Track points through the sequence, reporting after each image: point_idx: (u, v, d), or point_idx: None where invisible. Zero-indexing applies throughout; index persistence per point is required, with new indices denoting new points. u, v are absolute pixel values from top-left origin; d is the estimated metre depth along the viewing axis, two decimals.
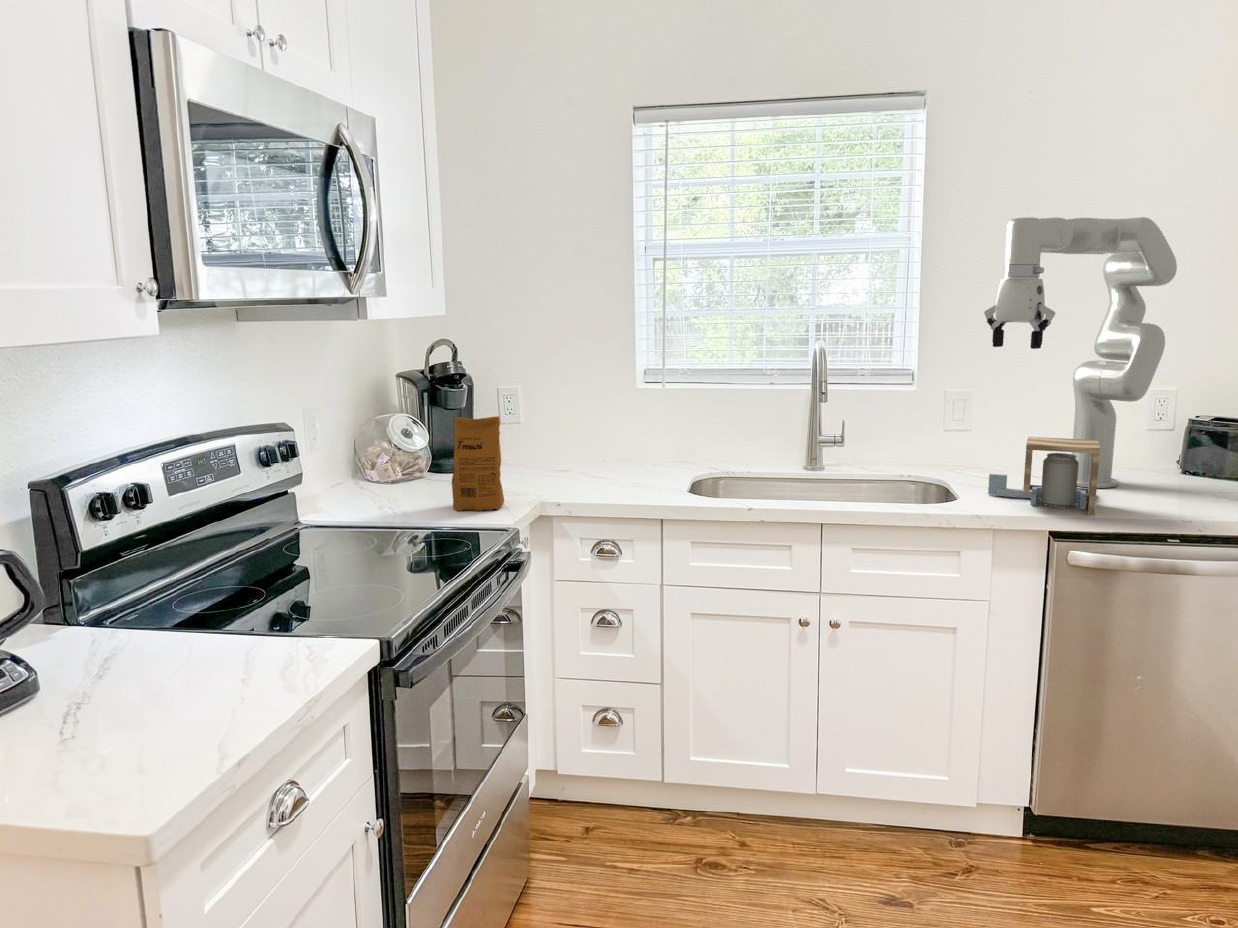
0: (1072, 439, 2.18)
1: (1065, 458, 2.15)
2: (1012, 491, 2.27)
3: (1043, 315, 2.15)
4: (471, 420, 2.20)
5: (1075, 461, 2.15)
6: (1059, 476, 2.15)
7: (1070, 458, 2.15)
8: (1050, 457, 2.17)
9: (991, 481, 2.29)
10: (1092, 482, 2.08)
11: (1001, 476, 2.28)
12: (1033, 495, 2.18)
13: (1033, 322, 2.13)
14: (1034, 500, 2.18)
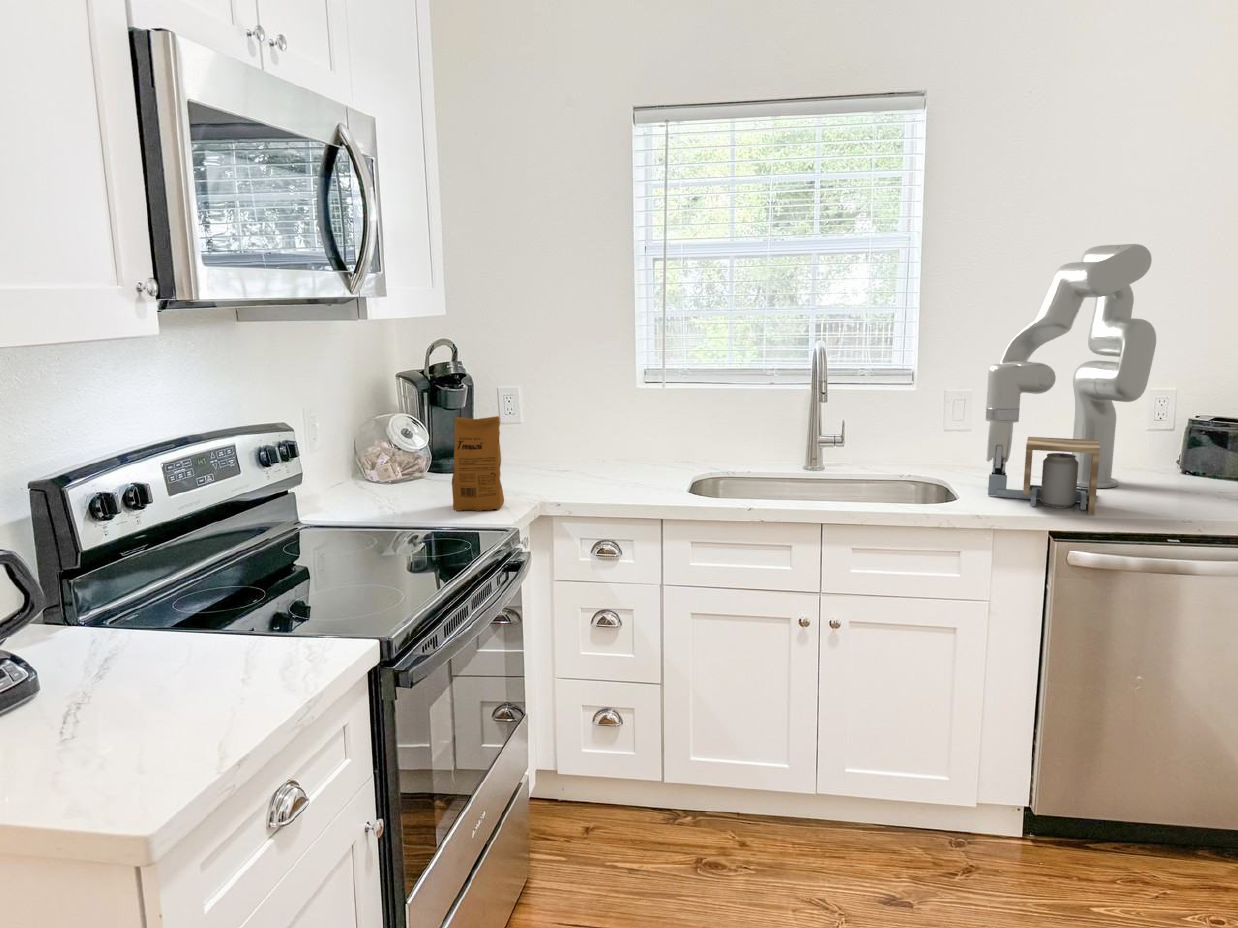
0: (1072, 439, 2.18)
1: (1065, 458, 2.14)
2: (1012, 492, 2.26)
3: None
4: (471, 420, 2.20)
5: (1075, 461, 2.15)
6: (1059, 476, 2.15)
7: (1070, 458, 2.14)
8: (1050, 457, 2.16)
9: (991, 482, 2.28)
10: (1092, 482, 2.08)
11: (1001, 477, 2.27)
12: (1033, 496, 2.17)
13: (1005, 463, 2.31)
14: (1034, 501, 2.17)
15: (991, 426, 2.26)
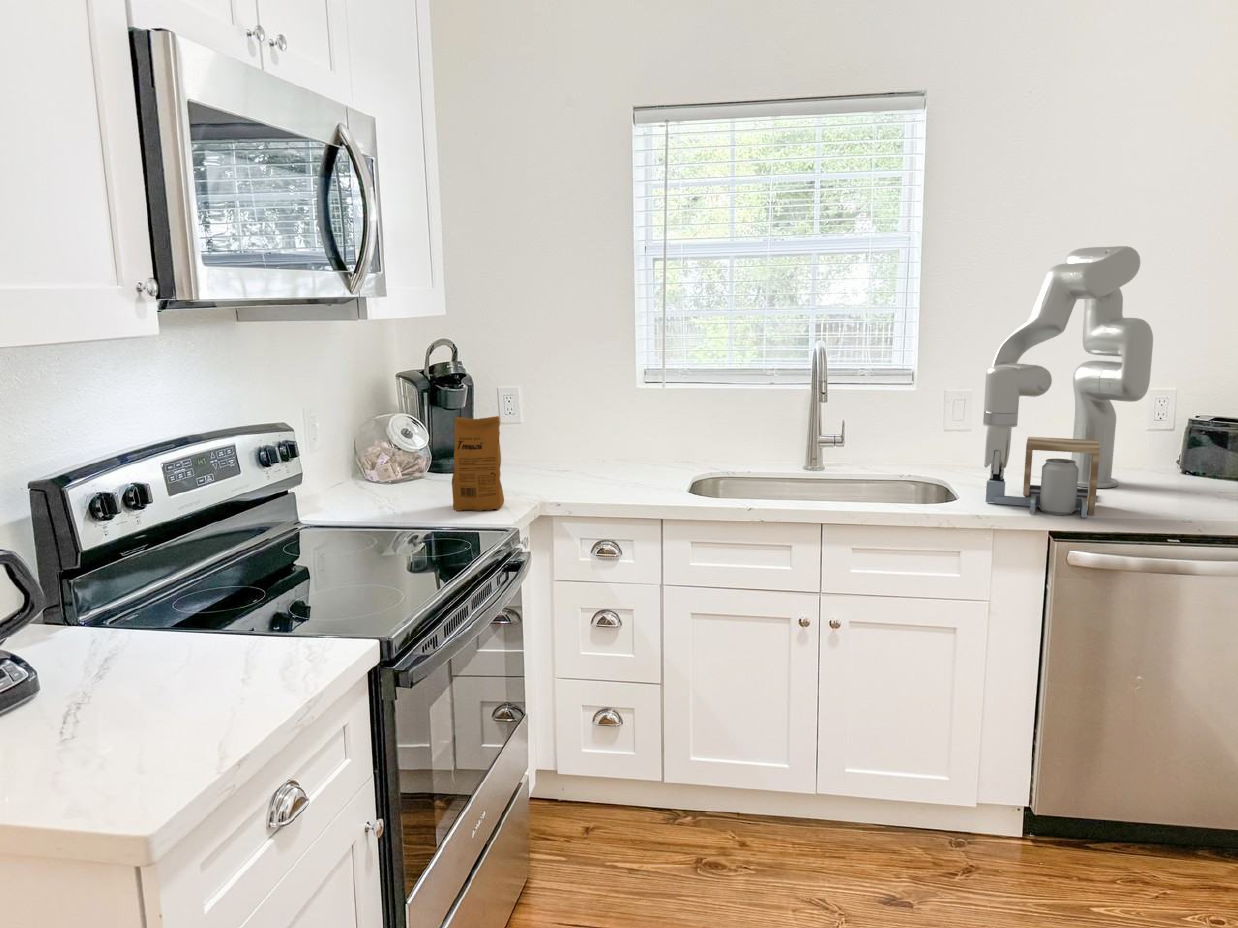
0: (1072, 439, 2.18)
1: (1064, 464, 2.07)
2: (1010, 498, 2.19)
3: None
4: (471, 420, 2.20)
5: (1075, 467, 2.08)
6: (1058, 483, 2.08)
7: (1069, 464, 2.07)
8: (1049, 463, 2.10)
9: (989, 488, 2.21)
10: (1092, 482, 2.08)
11: (999, 483, 2.20)
12: (1032, 503, 2.10)
13: None
14: (1033, 508, 2.10)
15: (989, 431, 2.18)
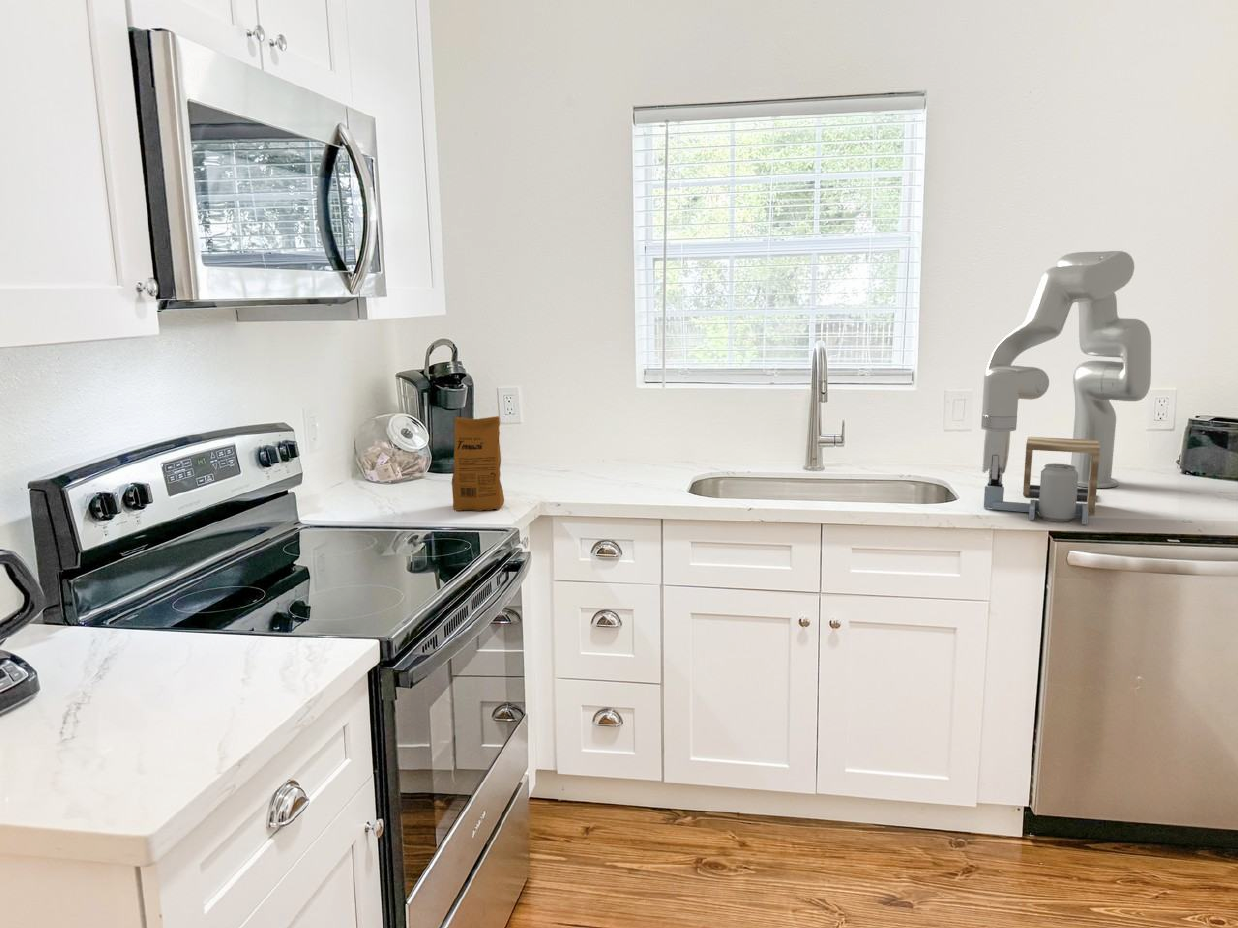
0: (1072, 439, 2.18)
1: (1063, 469, 2.02)
2: (1009, 504, 2.13)
3: None
4: (471, 420, 2.20)
5: (1074, 473, 2.02)
6: (1056, 489, 2.02)
7: (1068, 469, 2.02)
8: (1047, 468, 2.04)
9: (987, 494, 2.15)
10: (1092, 482, 2.08)
11: (997, 488, 2.14)
12: (1031, 509, 2.04)
13: None
14: (1032, 515, 2.04)
15: (987, 435, 2.13)
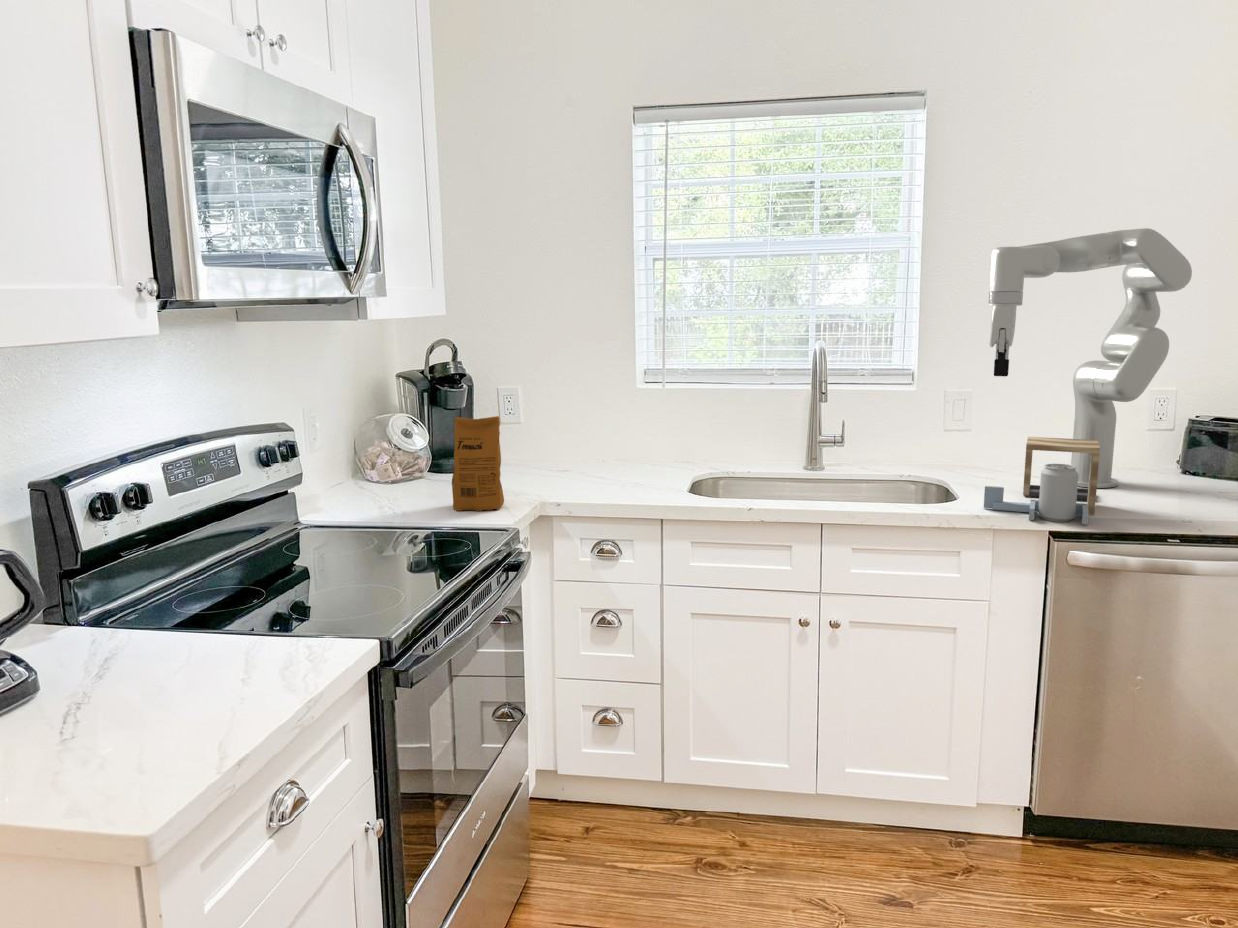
0: (1072, 439, 2.18)
1: (1063, 469, 2.02)
2: (1009, 504, 2.13)
3: None
4: (471, 420, 2.20)
5: (1074, 473, 2.02)
6: (1056, 489, 2.02)
7: (1068, 469, 2.01)
8: (1047, 468, 2.04)
9: (987, 494, 2.15)
10: (1092, 482, 2.08)
11: (997, 488, 2.14)
12: (1031, 509, 2.04)
13: (1008, 350, 2.28)
14: (1032, 515, 2.04)
15: (994, 310, 2.22)
